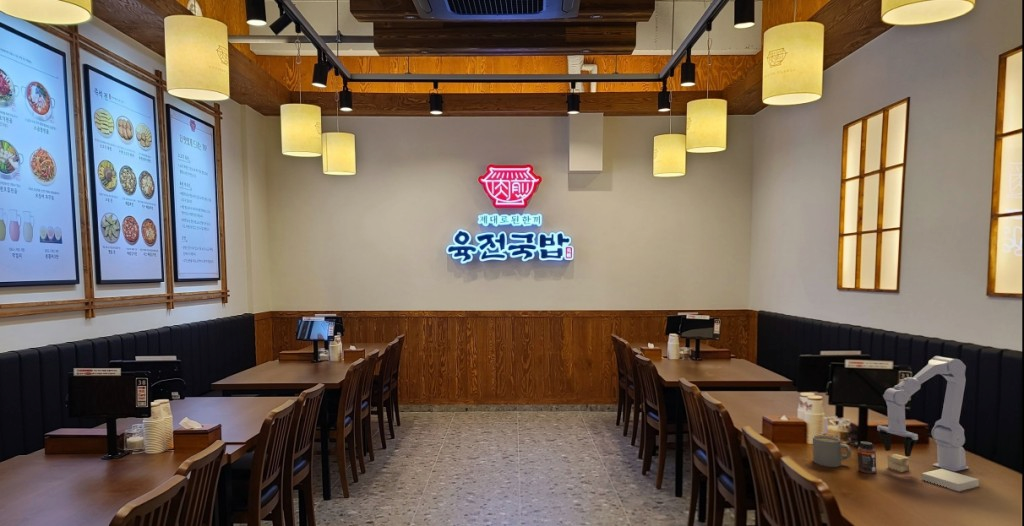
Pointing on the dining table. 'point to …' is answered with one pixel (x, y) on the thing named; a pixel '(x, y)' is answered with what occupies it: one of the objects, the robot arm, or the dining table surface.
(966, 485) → the beige block
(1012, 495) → the dining table surface
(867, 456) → the supplement bottle
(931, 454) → the dining table surface
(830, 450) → the coffee mug
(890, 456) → the maple cube
